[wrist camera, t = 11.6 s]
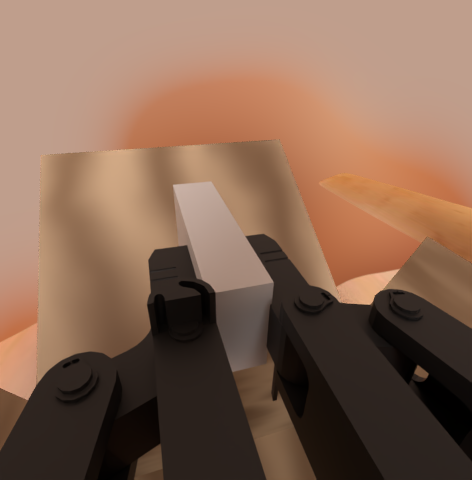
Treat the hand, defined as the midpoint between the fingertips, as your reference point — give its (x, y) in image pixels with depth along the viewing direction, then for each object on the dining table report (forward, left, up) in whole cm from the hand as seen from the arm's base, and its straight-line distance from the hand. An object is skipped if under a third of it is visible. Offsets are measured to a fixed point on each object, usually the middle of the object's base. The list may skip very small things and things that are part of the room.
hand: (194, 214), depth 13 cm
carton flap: (-1, -9, -6) cm, 11 cm away
